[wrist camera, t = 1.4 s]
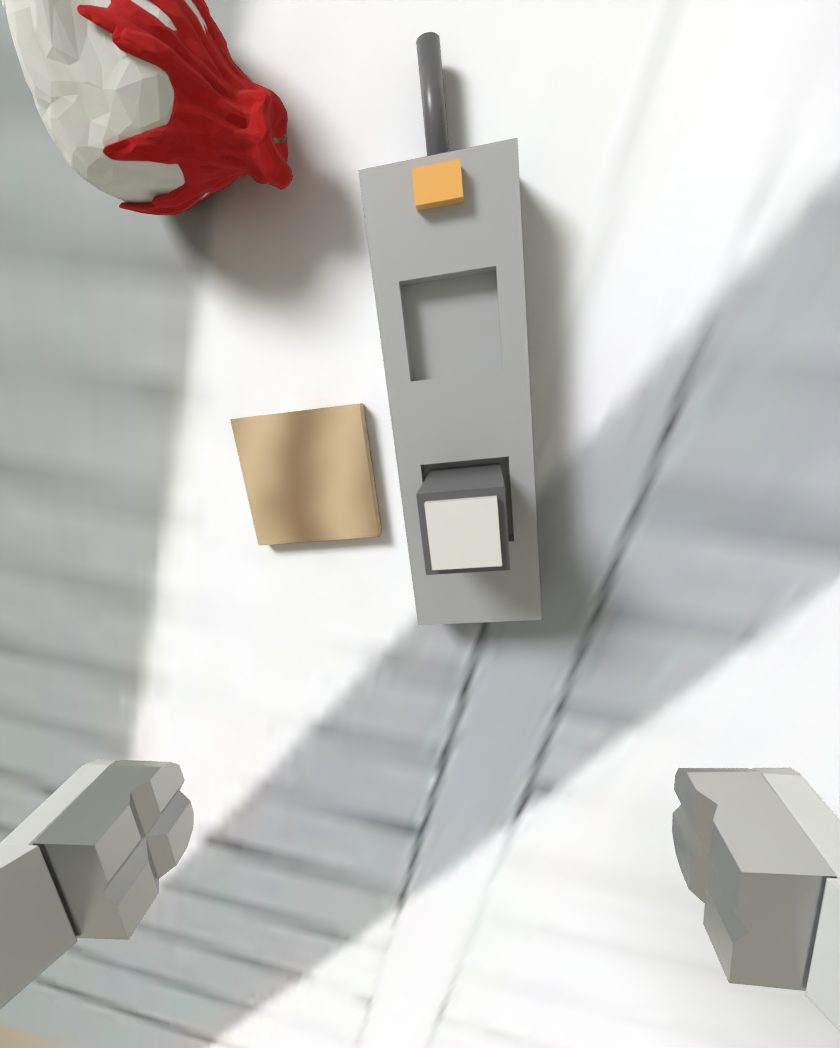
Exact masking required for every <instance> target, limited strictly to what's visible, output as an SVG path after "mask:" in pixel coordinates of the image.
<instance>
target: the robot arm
mask: <svg viewBox="0 0 840 1048" xmlns="http://www.w3.org/2000/svg"><path fill="white" fill-rule="evenodd" d="M183 782H184V777H183V774H182V771H181V769H180V766H179V765H178V764H175V763H172V762H157V761H133V760H120V761H116V760H93V761H91V762H89V763H86V764H84V765H83V766H82V767H80V768H79V769H78V770H77V771H76V772H75V773H74V774H73V775H72V776H71V777H70V778H69V779H68V780H67V781H66V782H65V783H63V784H62V785H61V786H60V787H59V788H58V789H57V790H56V791H55V792H54V793H53V794H52V795H51V796H50V797H49V798H48V799H47V800H45V801H44V802H43V803H42V804H41V805H40V806H39V807H38V808H37V809H36V810H35V811H34V812H33V813H32V814H31V815H30V816H29V817H27V818H26V819H25V820H24V821H23V822H22V823H21V824H20V825H19V826H18V827H17V828H16V829H15V830H14V831H13V832H12V833H11V834H9V835H8V836H7V837H6V838H5V839H4V840H3V841H2V842H1V843H0V1009H1V1008H3V1007H4V1006H5V1005H6V1004H7V1003H8V1002H9V1001H10V1000H12V999H13V998H14V997H15V996H16V995H17V994H18V993H20V992H21V991H22V990H23V989H24V988H25V987H26V986H27V985H29V984H30V983H31V982H32V981H33V980H34V979H35V978H37V977H38V976H39V975H40V974H41V973H42V972H43V971H45V970H46V969H47V968H48V967H49V966H50V965H51V964H52V963H54V962H55V961H56V960H57V959H58V958H59V957H60V956H62V955H63V954H64V953H65V952H66V951H67V950H68V949H70V948H71V947H72V946H73V945H74V944H75V943H76V942H77V938H95V939H125V940H129V939H130V937H131V936H132V934H133V933H134V931H135V930H136V928H137V926H138V925H139V923H140V922H141V920H142V919H143V917H144V915H145V914H146V912H147V911H148V909H149V908H150V906H151V904H152V903H153V901H154V900H155V898H156V897H157V895H158V893H159V878H160V877H162V876H163V875H164V874H166V873H167V872H168V871H169V870H171V869H172V868H173V867H175V866H176V865H177V863H178V862H179V860H180V858H181V857H182V855H183V853H184V852H185V850H186V848H187V846H188V843H189V840H190V837H191V833H192V830H193V818H194V813H193V809H192V805H191V801H190V800H189V799H188V798H187V797H186V796H185V795H184V794H183V793H182V792H181V791H180V788H181V786H182V784H183ZM674 790H675V792H676V794H677V796H678V798H679V800H680V802H681V805H680V806H679V807H678V808H677V809H676V810H675V812H674V813H673V823H672V833H673V839H674V845H675V852H676V855H677V859H678V862H679V865H680V868H681V871H682V874H683V876H684V879H685V881H686V883H687V886H688V888H689V890H691V891H692V892H693V893H694V894H695V895H696V896H697V897H698V898H699V899H700V900H702V901H703V902H704V903H705V910H704V923H703V924H704V926H705V929H706V931H707V933H708V935H709V938H710V940H711V942H712V945H713V947H714V949H715V952H716V954H717V956H718V959H719V961H720V963H721V966H722V968H723V970H724V973H725V975H726V977H727V980H728V982H729V983H735V984H745V985H755V986H765V987H774V988H784V989H794V990H803V991H806V993H805V995H806V996H807V997H808V999H809V1000H810V1001H811V1002H812V1003H813V1004H814V1005H815V1006H816V1007H817V1008H818V1009H819V1010H820V1011H821V1012H822V1013H823V1014H824V1015H825V1016H826V1017H827V1018H828V1019H829V1020H830V1021H831V1022H832V1023H833V1024H834V1026H835V1027H836V1028H837V1029H838V1030H839V1031H840V820H839V819H838V818H837V816H836V815H835V814H834V813H833V812H832V811H831V809H830V808H829V807H828V806H827V805H826V803H825V802H824V801H823V800H822V799H821V798H820V796H819V795H818V794H817V793H816V792H815V791H814V789H813V788H812V787H811V786H810V785H809V784H808V782H807V781H806V780H805V779H804V778H803V777H802V775H801V774H800V773H798V772H797V771H795V770H793V769H792V768H752V769H748V768H679V769H678V771H677V773H676V775H675V785H674Z"/></svg>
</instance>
